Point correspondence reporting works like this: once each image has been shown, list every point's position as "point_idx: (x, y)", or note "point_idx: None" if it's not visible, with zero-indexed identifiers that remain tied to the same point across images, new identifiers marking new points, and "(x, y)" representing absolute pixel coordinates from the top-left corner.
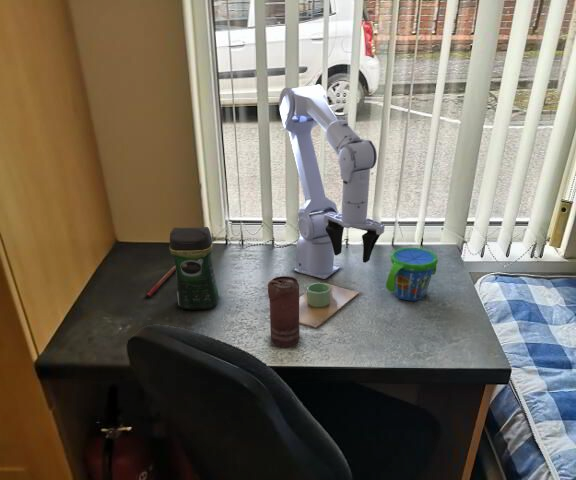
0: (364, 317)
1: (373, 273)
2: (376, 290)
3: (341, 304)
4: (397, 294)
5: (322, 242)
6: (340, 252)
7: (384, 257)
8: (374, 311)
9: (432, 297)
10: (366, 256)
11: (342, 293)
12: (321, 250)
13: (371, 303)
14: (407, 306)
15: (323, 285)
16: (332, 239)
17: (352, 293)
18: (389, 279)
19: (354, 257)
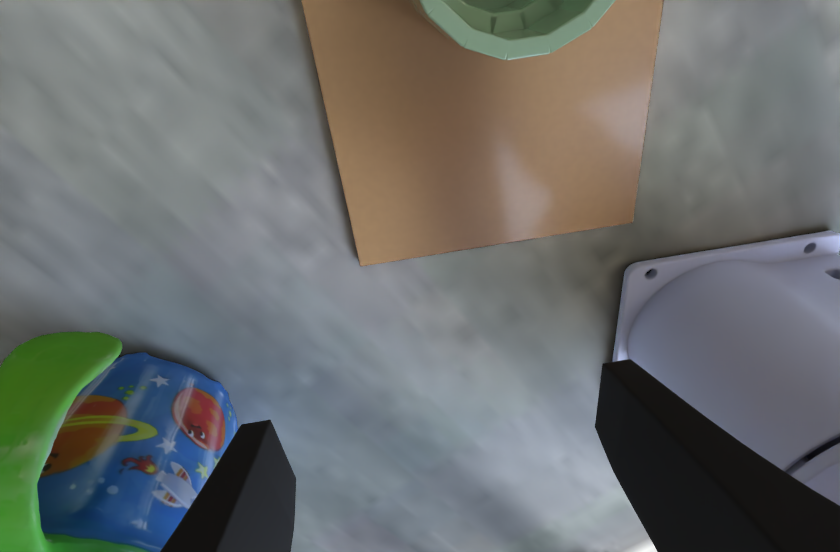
0: (69, 12)
1: (445, 447)
2: (316, 347)
3: (330, 49)
4: (149, 365)
5: (836, 458)
6: (598, 424)
7: (491, 544)
8: (109, 144)
9: None
10: (199, 497)
11: (431, 190)
12: (785, 397)
13: (215, 218)
14: (48, 322)
15: (527, 33)
16: (816, 525)
17: (380, 230)
18: (43, 392)
19: (598, 487)
